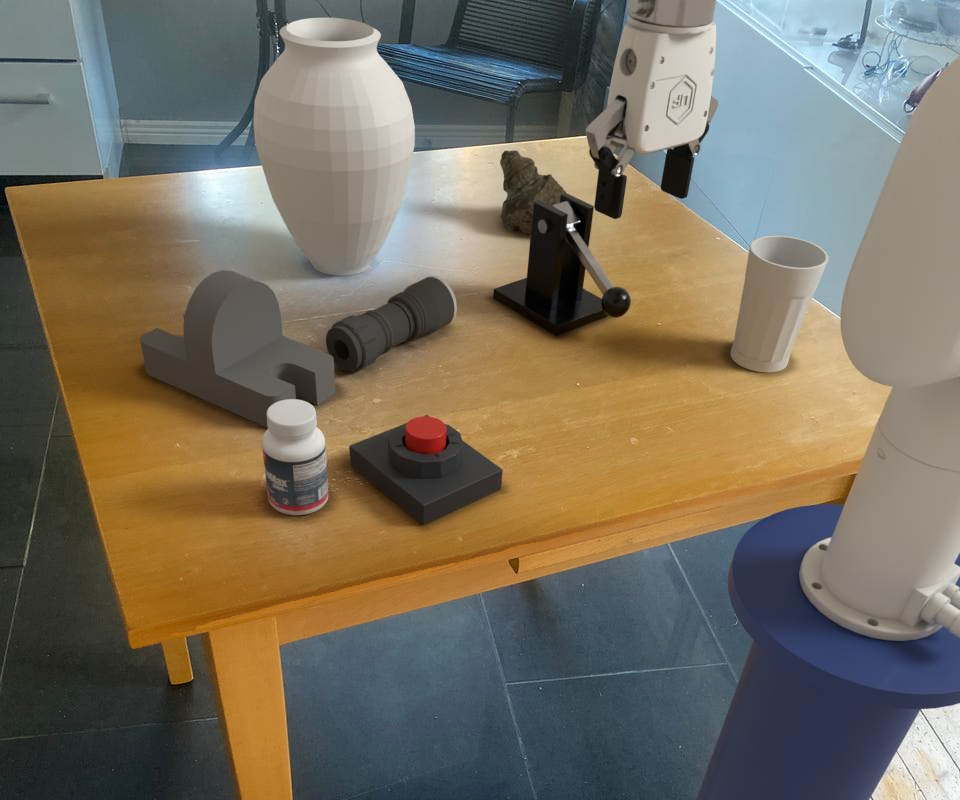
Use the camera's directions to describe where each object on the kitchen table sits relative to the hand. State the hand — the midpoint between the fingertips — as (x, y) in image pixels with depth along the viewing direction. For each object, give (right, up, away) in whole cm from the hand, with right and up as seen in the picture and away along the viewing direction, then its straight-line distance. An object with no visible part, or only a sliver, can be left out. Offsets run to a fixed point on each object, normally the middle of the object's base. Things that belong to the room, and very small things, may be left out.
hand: (641, 204), depth 99 cm
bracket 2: (-8, -5, +17) cm, 19 cm away
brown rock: (-8, +11, +32) cm, 35 cm away
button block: (-21, -29, -9) cm, 37 cm away
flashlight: (-26, -12, +8) cm, 29 cm away
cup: (+15, -13, +11) cm, 22 cm away
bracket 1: (-41, -18, +1) cm, 44 cm away
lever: (-5, -3, +10) cm, 12 cm away
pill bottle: (-32, -31, -12) cm, 47 cm away
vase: (-33, +2, +22) cm, 40 cm away
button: (-21, -26, -11) cm, 36 cm away
